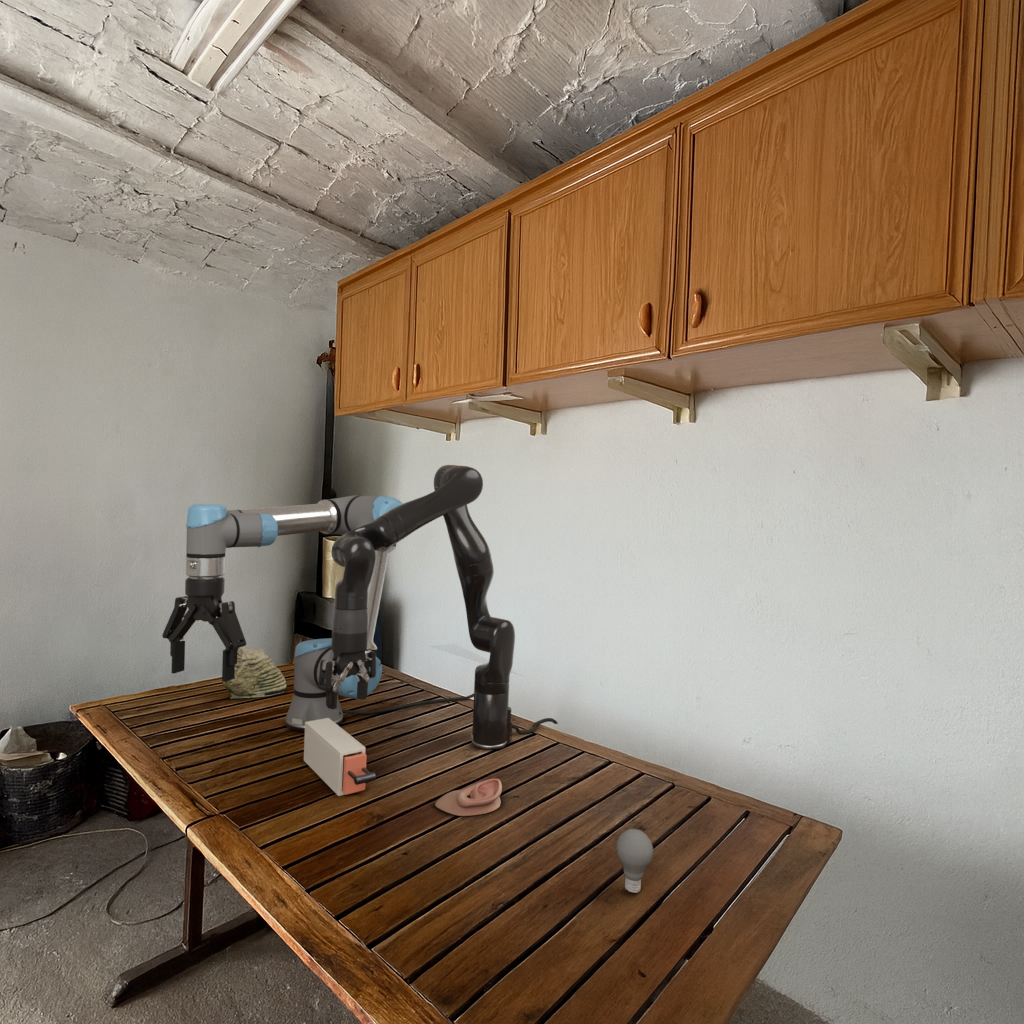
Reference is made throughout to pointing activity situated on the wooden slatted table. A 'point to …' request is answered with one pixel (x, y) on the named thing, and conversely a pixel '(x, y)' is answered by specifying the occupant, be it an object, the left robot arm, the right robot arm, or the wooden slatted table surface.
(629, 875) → the light bulb
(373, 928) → the wooden slatted table surface
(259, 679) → the fossil
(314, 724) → the cabinet
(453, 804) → the anatomical model
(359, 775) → the drawer
